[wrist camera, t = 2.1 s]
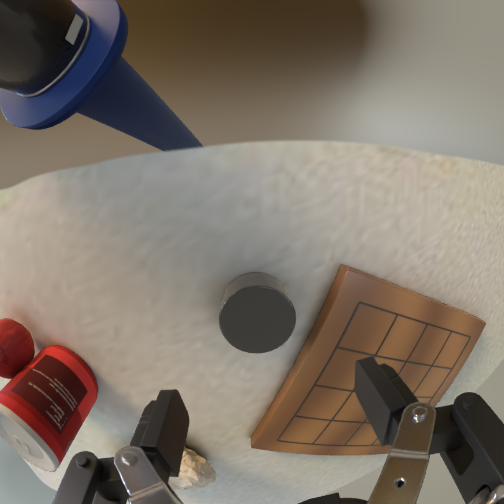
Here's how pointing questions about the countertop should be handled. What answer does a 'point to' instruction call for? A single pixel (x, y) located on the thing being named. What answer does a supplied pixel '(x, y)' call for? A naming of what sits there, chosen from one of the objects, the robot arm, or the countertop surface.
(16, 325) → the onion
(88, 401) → the canned food
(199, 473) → the stone
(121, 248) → the countertop surface
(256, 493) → the countertop surface
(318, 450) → the grid board
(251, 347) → the black stone
